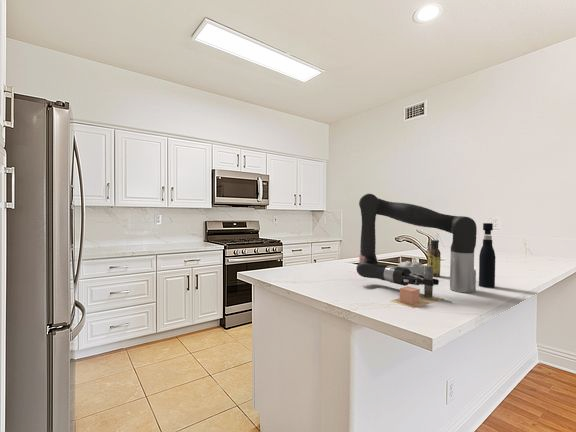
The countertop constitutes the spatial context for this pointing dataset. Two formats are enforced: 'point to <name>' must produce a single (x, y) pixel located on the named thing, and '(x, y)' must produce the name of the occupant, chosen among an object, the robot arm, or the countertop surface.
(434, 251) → the sauce bottle
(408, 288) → the terracotta block
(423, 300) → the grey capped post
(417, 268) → the lumpy-topped squat cylinder
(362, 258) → the soda can
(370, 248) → the robot arm
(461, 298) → the countertop surface
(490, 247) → the wine bottle
